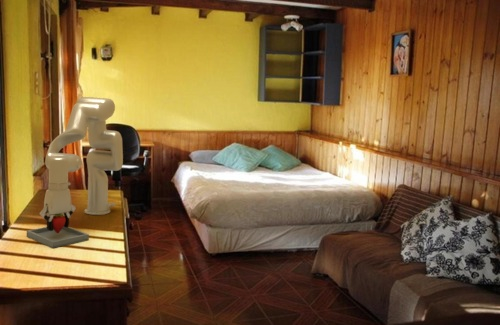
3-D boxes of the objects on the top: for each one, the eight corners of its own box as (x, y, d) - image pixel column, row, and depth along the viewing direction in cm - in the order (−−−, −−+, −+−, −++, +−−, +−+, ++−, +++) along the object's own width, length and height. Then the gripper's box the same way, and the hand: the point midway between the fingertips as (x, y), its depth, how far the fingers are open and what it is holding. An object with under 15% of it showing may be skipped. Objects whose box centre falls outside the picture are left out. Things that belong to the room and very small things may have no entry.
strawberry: (65, 230, 203) (66, 207, 201) (65, 235, 196) (65, 212, 195) (50, 230, 201) (50, 207, 199) (49, 236, 194) (49, 212, 192)
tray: (61, 229, 211) (61, 223, 210) (88, 240, 199) (88, 234, 199) (26, 236, 198) (26, 230, 198) (53, 248, 186) (53, 242, 186)
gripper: (72, 182, 205) (71, 222, 207) (33, 187, 191) (33, 230, 194) (82, 185, 200) (81, 226, 203) (43, 190, 186) (43, 234, 189)
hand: (58, 228), depth 198 cm, fingers closed on strawberry, 6 cm apart
